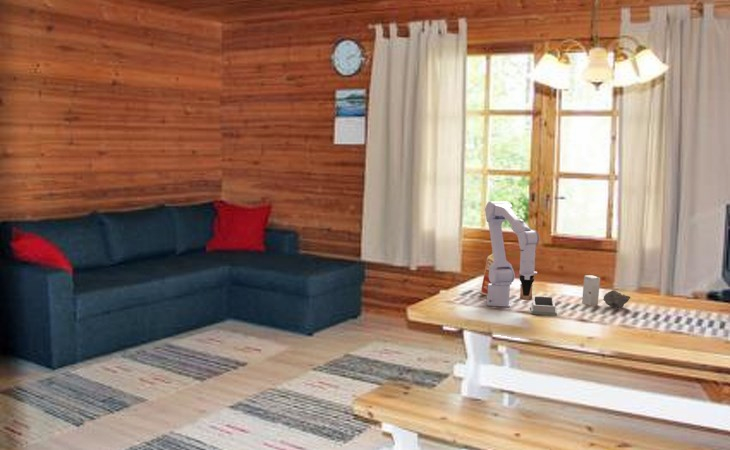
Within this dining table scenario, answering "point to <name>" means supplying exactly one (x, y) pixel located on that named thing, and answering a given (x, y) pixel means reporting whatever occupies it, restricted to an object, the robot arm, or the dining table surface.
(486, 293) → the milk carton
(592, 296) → the skincare box
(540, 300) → the grey green open box
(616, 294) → the fossil
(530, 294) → the spout can
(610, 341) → the dining table surface
